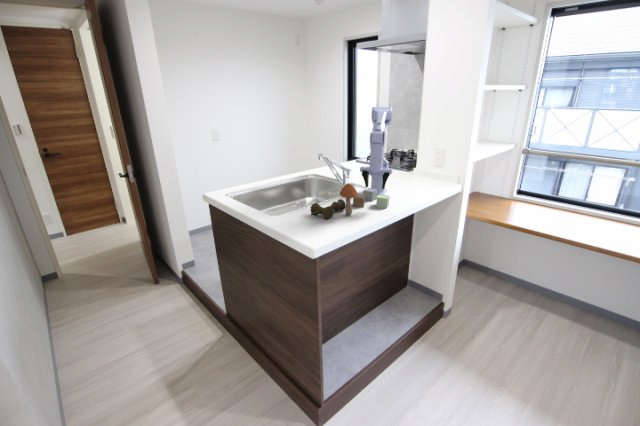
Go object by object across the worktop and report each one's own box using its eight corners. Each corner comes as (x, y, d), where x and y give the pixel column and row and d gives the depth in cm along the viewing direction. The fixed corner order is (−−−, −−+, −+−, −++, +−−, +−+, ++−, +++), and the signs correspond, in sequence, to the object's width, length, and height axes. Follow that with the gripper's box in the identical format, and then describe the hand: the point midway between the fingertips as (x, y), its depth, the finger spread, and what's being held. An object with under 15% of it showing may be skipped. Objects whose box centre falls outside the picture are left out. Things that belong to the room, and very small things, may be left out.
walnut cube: (354, 203, 158) (354, 193, 156) (364, 204, 157) (364, 194, 155) (352, 207, 153) (353, 197, 151) (363, 207, 152) (363, 197, 150)
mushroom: (342, 219, 139) (343, 186, 133) (336, 213, 146) (336, 181, 140) (359, 217, 141) (360, 184, 135) (353, 211, 148) (353, 179, 142)
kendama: (350, 212, 148) (318, 223, 135) (335, 208, 154) (303, 218, 141) (350, 200, 146) (318, 210, 133) (335, 196, 152) (303, 205, 139)
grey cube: (368, 197, 166) (368, 187, 165) (376, 198, 164) (377, 189, 162) (363, 199, 163) (363, 190, 161) (372, 201, 160) (372, 192, 158)
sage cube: (378, 203, 157) (379, 194, 155) (388, 205, 155) (389, 195, 153) (376, 207, 152) (376, 197, 150) (386, 208, 150) (387, 198, 149)
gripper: (358, 159, 142) (357, 188, 147) (391, 161, 137) (388, 192, 142) (362, 156, 148) (361, 184, 153) (394, 158, 143) (392, 187, 148)
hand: (375, 187), depth 148 cm, fingers open, 7 cm apart
